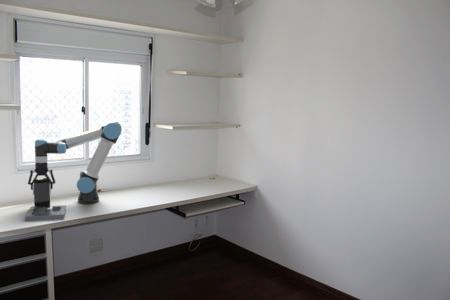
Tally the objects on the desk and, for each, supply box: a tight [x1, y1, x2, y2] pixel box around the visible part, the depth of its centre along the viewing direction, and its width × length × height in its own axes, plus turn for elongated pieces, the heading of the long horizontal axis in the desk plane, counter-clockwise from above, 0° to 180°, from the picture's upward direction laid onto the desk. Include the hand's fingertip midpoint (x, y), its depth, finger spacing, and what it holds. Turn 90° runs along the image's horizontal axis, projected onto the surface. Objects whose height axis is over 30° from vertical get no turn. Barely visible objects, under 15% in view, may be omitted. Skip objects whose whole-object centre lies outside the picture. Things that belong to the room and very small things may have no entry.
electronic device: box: [33, 177, 51, 209], centre depth 261 cm, size 9×6×20 cm, turn 141°
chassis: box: [24, 204, 67, 222], centre depth 246 cm, size 22×22×4 cm
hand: (42, 193), depth 261 cm, fingers closed on electronic device, 10 cm apart
